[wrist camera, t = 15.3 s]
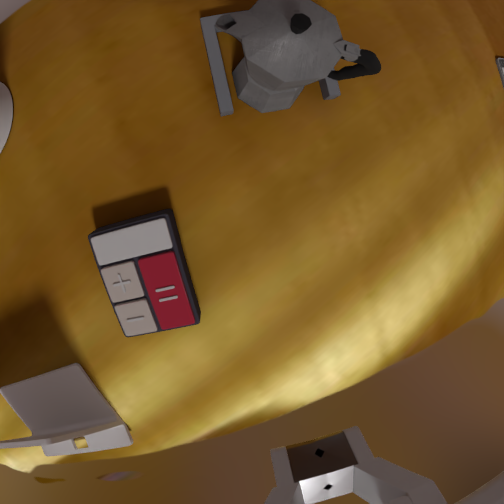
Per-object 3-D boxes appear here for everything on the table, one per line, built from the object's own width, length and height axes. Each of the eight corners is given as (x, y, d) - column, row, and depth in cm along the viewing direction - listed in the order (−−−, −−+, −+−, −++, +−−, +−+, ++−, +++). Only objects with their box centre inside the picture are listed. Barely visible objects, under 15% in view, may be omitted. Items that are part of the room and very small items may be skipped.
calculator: (124, 341, 40) (84, 236, 35) (131, 325, 44) (96, 228, 39) (200, 326, 40) (166, 213, 35) (201, 311, 44) (172, 207, 39)
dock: (220, 116, 37) (220, 112, 34) (201, 26, 33) (200, 18, 31) (334, 98, 37) (340, 94, 35) (309, 13, 34) (314, 5, 31)
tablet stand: (-1, 387, 44) (-40, 437, 27) (78, 360, 44) (36, 429, 27) (51, 449, 48) (27, 503, 32) (136, 435, 48) (120, 507, 32)
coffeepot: (209, 104, 36) (200, 54, 19) (224, 40, 34) (228, -38, 17) (327, 129, 38) (398, 105, 21) (337, 66, 36) (405, 14, 19)
